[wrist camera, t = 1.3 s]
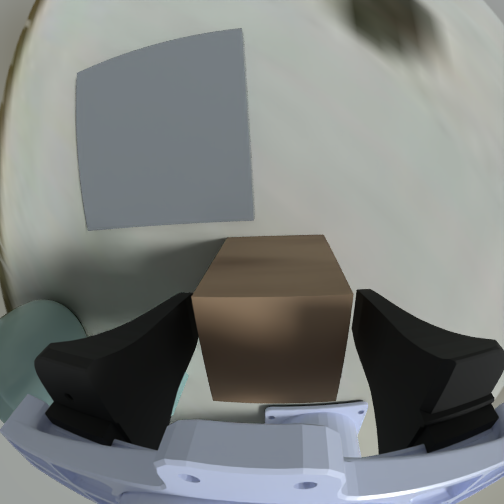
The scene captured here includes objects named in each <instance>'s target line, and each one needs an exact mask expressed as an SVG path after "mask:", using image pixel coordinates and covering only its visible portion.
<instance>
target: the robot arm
mask: <svg viewBox="0 0 504 504" xmlns="http://www.w3.org/2000/svg"><path fill="white" fill-rule="evenodd" d="M192 295H193V293H179V294H177V295H175V296H173V297H171V298H170V299H168V300H167V301H165V302H163V303H162V304H160V305H159V306H157V307H155V308H154V309H152V310H150V311H149V312H147V313H145V314H143V315H142V316H140V317H138V318H136V319H134V320H132V321H130V322H128V323H126V324H124V325H122V326H119V327H117V328H115V329H112V330H109V331H106V332H103V333H100V334H97V335H94V336H90V337H86V338H81V339H77V340H71V341H63V342H55V343H50V344H49V345H48V346H47V347H46V348H45V349H44V350H43V351H42V352H41V353H40V354H39V355H38V356H37V357H36V359H35V360H34V367H35V370H36V373H37V375H38V377H39V379H40V381H41V383H42V384H43V386H44V387H45V389H46V391H47V392H48V394H49V395H50V397H51V398H52V400H53V401H54V402H53V403H52V404H51V406H49V405H48V404H47V403H46V402H44V401H42V400H40V399H38V398H36V397H34V396H32V395H30V394H27V396H26V397H25V398H24V399H23V401H22V402H21V403H20V404H19V406H18V407H17V408H16V409H15V411H14V412H13V413H12V414H11V416H10V417H9V418H8V420H7V421H6V422H5V424H4V425H3V426H2V428H1V429H0V432H1V433H2V435H3V436H4V437H5V438H6V439H7V440H8V441H9V442H10V443H11V444H12V445H13V446H14V447H15V449H17V450H18V452H19V453H21V455H22V456H23V457H25V458H26V459H27V460H28V461H29V462H30V463H31V464H32V465H33V466H34V467H36V468H37V469H39V470H40V471H42V472H43V473H45V474H46V475H48V476H50V477H51V478H53V479H55V480H56V481H58V482H59V483H61V484H63V485H64V486H66V487H68V488H69V489H71V490H73V491H75V492H76V493H78V494H81V495H82V496H84V497H85V498H87V499H89V500H91V501H93V502H95V503H97V504H456V503H458V502H460V501H462V500H464V499H466V498H468V497H470V496H471V495H473V494H475V493H477V492H479V491H480V490H482V489H484V488H486V487H487V486H489V485H491V484H492V483H494V482H496V481H497V480H499V479H500V478H502V477H504V403H502V404H500V405H499V406H498V407H497V408H495V409H494V408H493V406H492V404H491V403H493V402H494V397H493V395H492V393H491V392H492V390H493V389H494V387H495V385H496V384H497V382H498V380H499V378H500V377H501V375H502V373H503V370H504V350H503V349H502V347H501V346H500V345H499V344H498V342H497V341H496V340H492V339H483V338H475V337H470V336H466V335H461V334H457V333H454V332H450V331H447V330H445V329H442V328H439V327H436V326H434V325H431V324H429V323H427V322H425V321H423V320H420V319H418V318H417V317H415V316H413V315H411V314H409V313H408V312H406V311H404V310H403V309H401V308H399V307H398V306H396V305H395V304H393V303H391V302H390V301H388V300H387V299H385V298H384V297H382V296H381V295H379V294H378V293H376V292H375V291H373V290H371V289H360V290H357V292H356V300H355V308H354V316H353V323H352V332H353V337H354V342H355V346H356V349H357V352H358V355H359V358H360V361H361V363H362V366H363V369H364V372H365V375H366V378H367V380H368V383H369V387H370V391H371V395H372V401H373V406H374V412H375V419H376V426H377V436H378V449H379V455H374V456H368V457H362V458H361V453H360V448H359V442H358V437H357V435H358V433H359V430H360V428H361V425H362V423H363V420H364V417H365V415H366V412H367V409H368V403H367V402H365V401H362V402H354V403H344V404H333V405H319V406H298V407H268V408H266V409H265V424H259V423H236V422H223V421H212V420H202V419H189V420H177V421H176V422H174V423H172V424H171V425H169V423H170V419H171V414H172V410H173V406H174V403H175V399H176V395H177V392H178V389H179V386H180V384H181V381H182V379H183V377H184V374H185V372H186V370H187V367H188V365H189V363H190V360H191V358H192V356H193V353H194V351H195V348H196V345H197V341H198V337H199V335H198V330H197V325H196V320H195V315H194V309H193V304H192V298H191V296H192Z"/></svg>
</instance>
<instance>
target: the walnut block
mask: <svg viewBox="0 0 504 504" xmlns="http://www.w3.org/2000/svg"><path fill="white" fill-rule="evenodd" d="M191 298H192V304H193V309H194V315H195V320H196V325H197V330H198V335H199V340H200V345H201V350H202V355H203V359H204V364H205V369H206V373H207V377H208V382H209V386H210V390H211V394H212V398H213V401H224V402H240V403H313V402H329V401H336V398H337V393H338V388H339V384H340V379H341V374H342V368H343V363H344V357H345V351H346V345H347V339H348V332H349V325H350V318H351V310H352V302H353V292H352V290H351V288H350V286H349V284H348V282H347V280H346V278H345V276H344V274H343V272H342V270H341V268H340V266H339V264H338V262H337V260H336V258H335V256H334V254H333V252H332V250H331V248H330V246H329V244H328V242H327V240H326V238H325V236H324V235H290V236H255V237H227V239H226V241H225V242H224V244H223V245H222V247H221V249H220V250H219V252H218V253H217V255H216V257H215V258H214V260H213V262H212V263H211V265H210V267H209V268H208V270H207V272H206V273H205V275H204V276H203V278H202V280H201V281H200V283H199V285H198V286H197V288H196V290H195V291H194V293H193V295H192V296H191Z"/></svg>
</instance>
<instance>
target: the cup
mask: <svg viewBox="0 0 504 504" xmlns="http://www.w3.org/2000/svg"><path fill="white" fill-rule="evenodd" d="M86 337H87V336H86V333H85V331H84V329H83V327H82V325H81V324H80V322H79V320H78V319H77V318H76V316H75V315H74V314H73V313H72V312H71V311H70V310H69V309H67V308H66V307H65V306H63V305H62V304H60V303H58V302H55V301H52V300H47V299H39V300H34V301H30V302H28V303H25V304H23V305H21V306H19V307H17V308H15V309H13V310H12V311H10V312H8V313H7V314H5V315H4V316H3V317H1V318H0V419H1V421H2V422H4V423H5V422H6V421H7V420H8V418H9V417H10V416H11V414H12V413H13V412H14V411H15V409H16V408H17V407H18V406H19V404H20V403H21V402H22V401H23V399H24V398H25V397H26V396H27V394H30V395H32V396H34V397H36V398H38V399H40V400H42V401H44V402H46V403H47V404H48V405H49V406H51V404H52V403H53V402H54V401H53V400H52V398H51V397H50V395H49V394H48V392H47V391H46V389H45V387H44V386H43V384H42V383H41V381H40V379H39V377H38V375H37V373H36V370H35V367H34V360H35V359H36V357H37V356H38V355H39V354H40V353H41V352H42V351H43V350H44V349H45V348H46V347H47V346H48V345H49V344H50V343H55V342H63V341H71V340H77V339H81V338H86Z"/></svg>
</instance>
